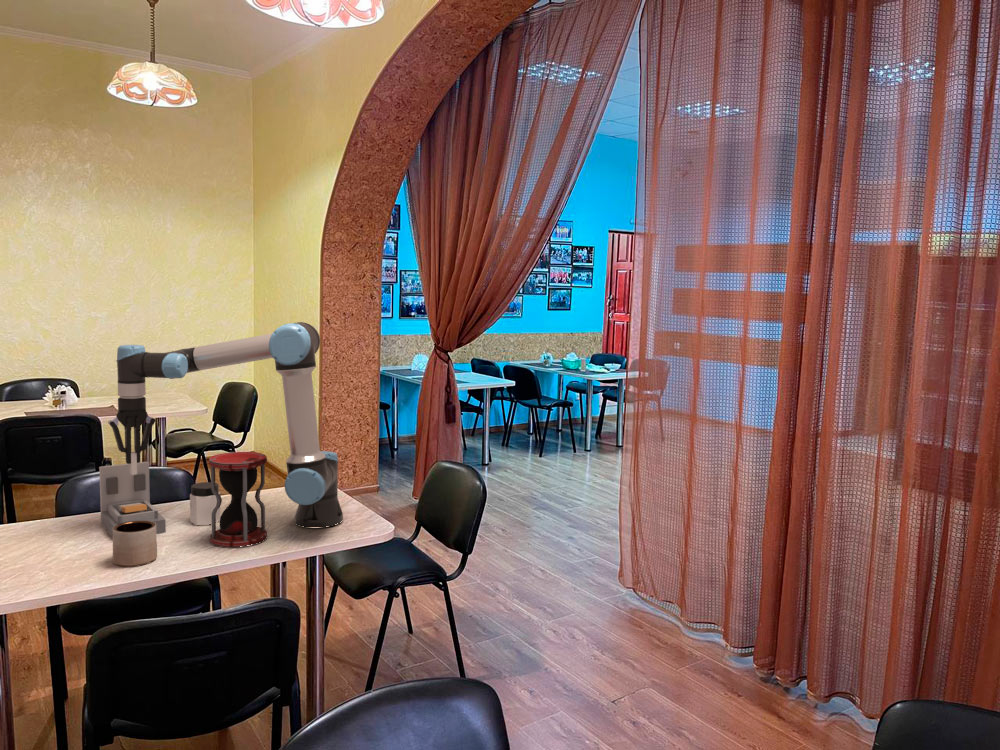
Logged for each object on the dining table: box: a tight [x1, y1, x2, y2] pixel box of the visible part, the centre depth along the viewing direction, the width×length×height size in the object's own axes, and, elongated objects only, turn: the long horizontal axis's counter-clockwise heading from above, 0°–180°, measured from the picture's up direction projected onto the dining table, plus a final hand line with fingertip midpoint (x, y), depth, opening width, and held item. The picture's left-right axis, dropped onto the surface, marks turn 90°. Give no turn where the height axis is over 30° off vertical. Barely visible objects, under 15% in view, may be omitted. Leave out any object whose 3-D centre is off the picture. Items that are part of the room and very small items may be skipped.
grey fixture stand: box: [98, 461, 167, 538], centre depth 234 cm, size 20×14×18 cm
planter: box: [112, 521, 158, 567], centre depth 207 cm, size 11×11×10 cm
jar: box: [189, 481, 221, 526], centre depth 241 cm, size 9×8×12 cm
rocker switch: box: [118, 503, 147, 513], centre depth 234 cm, size 10×6×2 cm, turn 38°
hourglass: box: [208, 451, 268, 548], centre depth 225 cm, size 16×16×25 cm
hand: (133, 473), depth 230 cm, fingers closed
